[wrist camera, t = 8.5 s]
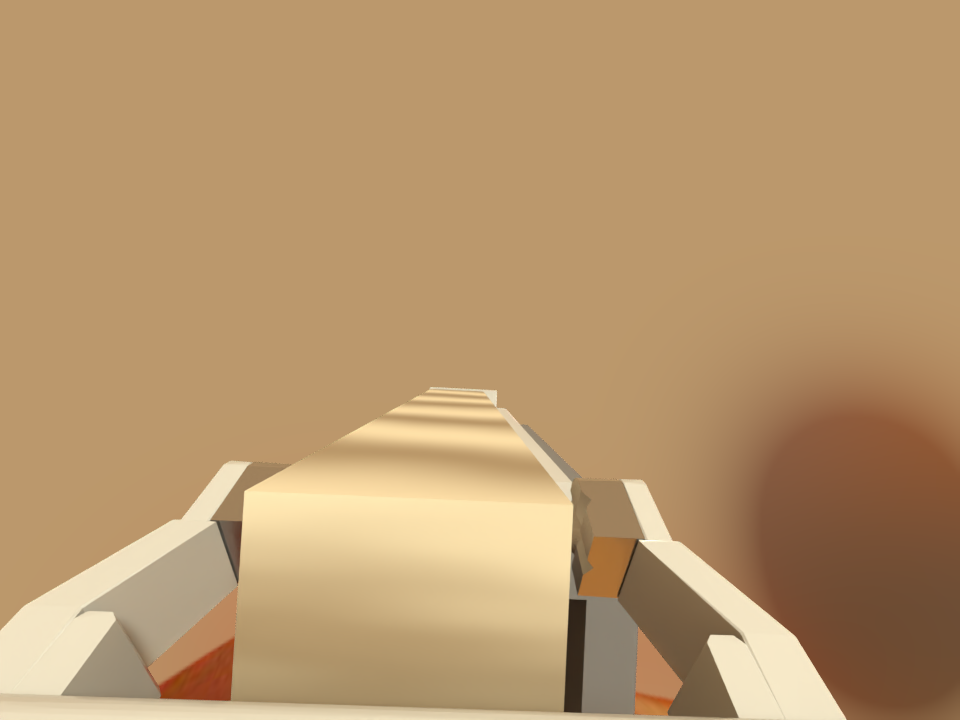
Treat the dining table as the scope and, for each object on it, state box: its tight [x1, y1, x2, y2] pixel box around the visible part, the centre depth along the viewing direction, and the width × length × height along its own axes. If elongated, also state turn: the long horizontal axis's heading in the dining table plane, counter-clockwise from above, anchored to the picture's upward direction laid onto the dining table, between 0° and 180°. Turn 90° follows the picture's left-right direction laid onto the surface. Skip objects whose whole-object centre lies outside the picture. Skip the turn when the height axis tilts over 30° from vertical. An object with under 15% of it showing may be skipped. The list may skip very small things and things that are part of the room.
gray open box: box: [430, 387, 638, 715], centre depth 26 cm, size 26×12×29 cm, turn 1°
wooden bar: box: [231, 389, 573, 712], centre depth 21 cm, size 30×4×3 cm, turn 2°
